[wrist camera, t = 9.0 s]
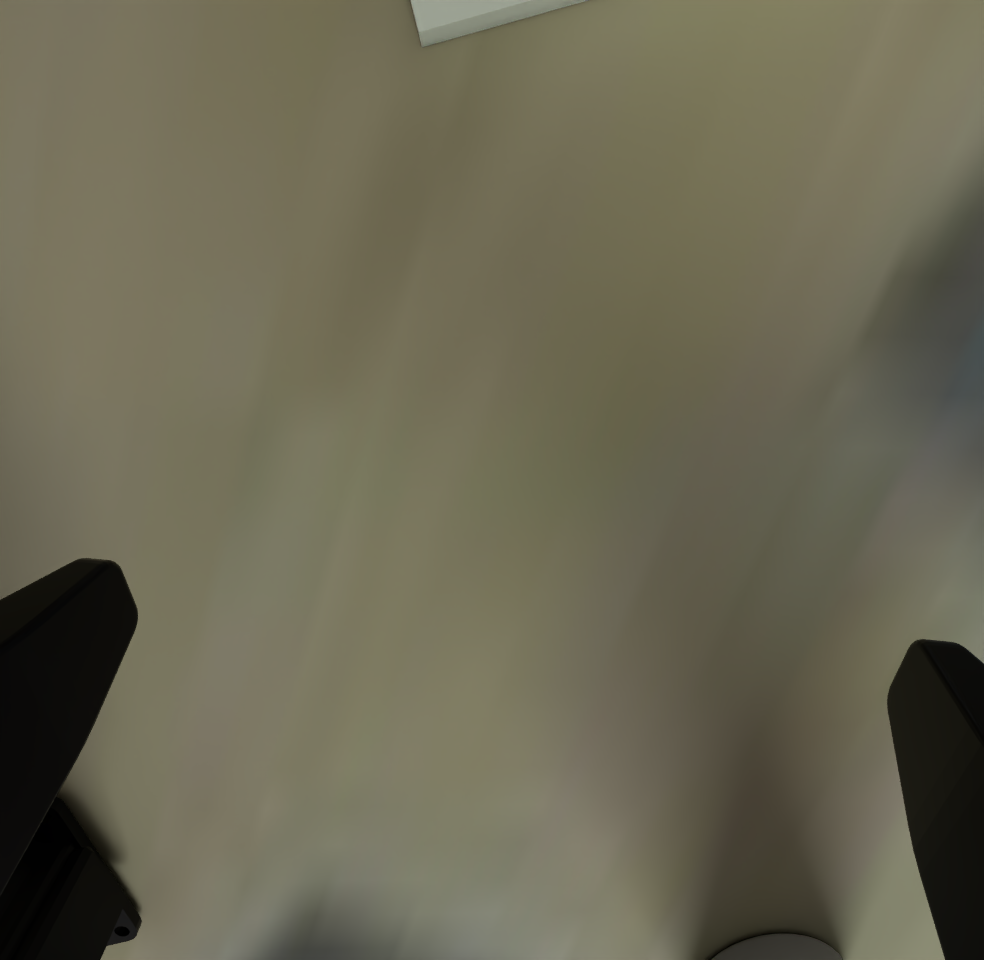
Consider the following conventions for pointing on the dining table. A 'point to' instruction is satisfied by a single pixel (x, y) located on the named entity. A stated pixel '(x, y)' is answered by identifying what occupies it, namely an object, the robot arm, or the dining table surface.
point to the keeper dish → (473, 15)
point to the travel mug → (779, 949)
